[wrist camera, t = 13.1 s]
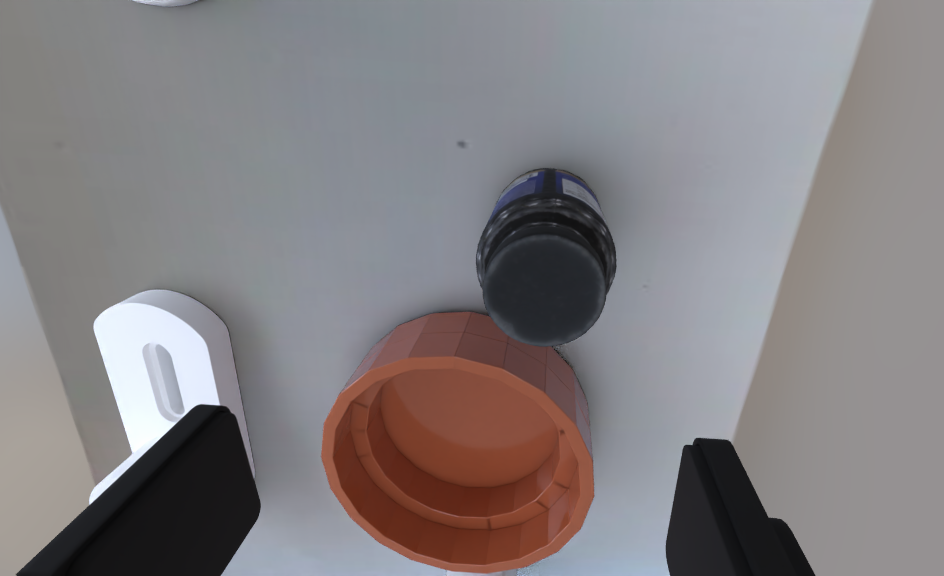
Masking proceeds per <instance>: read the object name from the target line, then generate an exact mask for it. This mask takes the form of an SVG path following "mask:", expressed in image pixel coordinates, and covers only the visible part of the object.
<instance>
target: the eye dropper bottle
mask: <svg viewBox="0 0 944 576" xmlns="http://www.w3.org/2000/svg"><path fill="white" fill-rule="evenodd" d="M446 576H517V569H512V570H507V571H501V572H495V573H488V574H483V573H467V572H452V571H448V570H447V571H446Z"/></svg>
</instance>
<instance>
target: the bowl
mask: <svg viewBox="0 0 944 576" xmlns="http://www.w3.org/2000/svg"><path fill="white" fill-rule="evenodd" d="M321 458H322V462H323V465H324V468H325V472H326V475H327V478H328V482H329V485H330V488H331V490H332V491H333V493H334V494H335V496H336V497H337V499H338V500H339V502H340V503H341V505H342V506H343V508H344V509H345V511H346V512H347V513H348V515H349V516H350V518H351V519H352V520H353V521H355V522H356V523H357V524H358V525H359V526H360V527H361V528H363V529H364V530H365V531H366V532H367V533H368V534H370V535H371V536H372V537H373V538H374V539H375V540H376V541H378V542H379V543H381V544H382V545H384V546H386V547H388V548H390V549H392V550H394V551H396V552H397V553H399V554H401V555H403V556H405V557H407V558H409V559H411V560H414V561H417V562H420V563H424V564H427V565H431V566H434V567H438V568H441V569H445V570H448V571H452V572H467V573H483V574H488V573H495V572H501V571H507V570H512V569H518V568H524V567H527V566H529V565H531V564H533V563H535V562H538V561H540V560H542V559H544V558H546V557H548V556H550V555H552V554H554V553H556V552H558V551H559V550H560V549H561V548H562V547H563V546H564V545H565V544H566V543H567V542H568V541H569V540H570V539H571V538H572V537H573V536H574V535H575V534H576V533H577V532H578V531H579V530H580V529H581V527H582V525H583V523H584V520H585V518H586V515H587V513H588V510H589V508H590V505H591V503H592V501H593V498H594V475H593V456H592V446H591V435H590V425H589V414H588V403H587V400H586V398H585V396H584V394H583V391H582V389H581V387H580V384H579V382H578V380H577V378H576V375H575V373H574V371H573V369H572V368H571V367H570V366H569V365H568V364H567V363H566V362H565V361H564V360H563V359H562V358H561V357H560V355H559V354H558V353H557V352H556V351H555V350H554V349H553V348H552V347H551V346H547V347H540V346H533V345H529V344H525V343H522V342H519V341H517V340H514V339H513V338H511V337H509V336H508V335H507V334H505V333H504V332H503V331H502V330H501V329H500V328H498V327H497V325H496V324H495V323H494V321H493V320H492V319H491V317H490V316H487V315H483V314H479V313H474V312H450V313H432V314H429V315H426V316H423V317H420V318H418V319H415V320H412V321H410V322H407V323H404V324H401V325H399V326H398V327H396V328H395V329H393V330H392V331H391V332H390V333H389V334H387V335H386V336H385V337H384V338H383V339H381V340H380V341H379V342H378V343H377V344H375V345H374V346H373V347H372V348H371V350H370V351H369V353H368V354H367V355H366V357H365V358H364V360H363V361H362V363H361V364H360V365H359V367H358V368H357V370H356V371H355V372H354V374H353V375H352V377H351V378H350V380H349V381H348V382H347V384H346V385H345V387H344V388H343V390H342V391H341V392H340V394H339V396H338V397H337V399H336V401H335V403H334V405H333V407H332V409H331V411H330V413H329V414H328V416H327V418H326V420H325V422H324V428H323V440H322V453H321Z"/></svg>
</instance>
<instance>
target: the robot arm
mask: <svg viewBox="0 0 944 576" xmlns="http://www.w3.org/2000/svg"><path fill="white" fill-rule="evenodd" d="M132 1H136V2H140V3H144V4H149V5H156V6H164V7H172V6H181V5H188V4H190V3H193V2H195V1H198V0H132ZM260 508H261V504H260V499H259V495H258V492H257V488H256V485H255V481H254V478H253V474H252V471H251V467H250V464H249V460H248V457H247V453H246V449H245V446H244V442H243V439H242V435H241V432H240V428H239V425H238V421H237V418H236V416H235V415H234V414H233V413H231V412H230V409H229V408H228V407H227V406H222V405H207V404H199V405H196V406H195V407H193V408H192V409H191V410H190V411H189V412H188V413H187V414H186V415H185V416H184V417H183V418H181V419H180V420H179V421H178V422H177V423H176V424H175V425H174V426H173V427H172V428H171V429H170V430H169V431H168V432H167V433H166V434H164V435H163V436H162V437H161V438H160V439H159V440H158V441H157V442H156V443H155V444H154V445H153V446H152V447H151V448H150V449H149V450H147V451H146V452H145V453H144V454H143V455H142V456H141V457H140V458H139V459H138V460H137V461H136V462H135V463H134V464H133V465H132V466H130V467H129V468H128V469H127V470H126V471H125V472H124V473H123V474H122V475H121V476H120V477H119V478H118V479H117V480H116V481H115V482H113V483H112V484H111V485H110V486H109V487H108V488H107V489H106V490H105V491H104V492H103V493H102V494H101V495H100V496H99V497H98V498H97V499H95V500H94V501H93V502H92V503H91V504H90V505H89V506H88V507H87V508H86V509H85V510H84V511H83V512H82V513H81V514H80V515H79V516H77V517H76V518H75V519H74V520H73V521H72V522H71V523H70V524H69V525H68V526H67V527H66V528H65V529H64V530H63V531H61V533H59V534H58V535H57V536H56V537H55V538H54V539H53V540H52V541H51V542H50V543H49V544H48V545H47V546H46V547H45V548H43V549H42V550H41V551H40V552H39V553H38V554H37V555H36V556H35V557H34V558H33V559H32V560H31V561H30V562H29V563H27V564H26V565H25V566H24V568H22V569H21V570H20V571H19V572H18V573H17V574H16V575H17V576H221V574H222V573H223V571H224V570H225V568H226V567H227V565H228V564H229V562H230V561H231V559H232V557H233V556H234V554H235V553H236V551H237V550H238V548H239V547H240V545H241V544H242V542H243V541H244V539H245V538H246V536H247V534H248V533H249V531H250V530H251V528H252V527H253V525H254V524H255V522H256V520H257V519H258V516H259V513H260ZM666 558H667V564H668V568H669V572H670V576H815V574H814V572H813V570H812V568H811V567H810V565H809V563H808V561H807V559H806V557H805V555H804V553H803V551H802V550H801V548H800V546H799V544H798V542H797V540H796V538H795V537H794V534H793V533H792V531H791V530H790V528H789V527H788V525H787V524H786V523H785V522H784V521H783V520H781V519H777V518H768V516H767V514H766V512H765V510H764V508H763V506H762V504H761V502H760V500H759V498H758V496H757V494H756V491H755V489H754V487H753V485H752V483H751V481H750V479H749V477H748V476H747V473H746V471H745V469H744V467H743V465H742V463H741V461H740V459H739V457H738V455H737V453H736V451H735V449H734V447H733V445H732V444H731V442H730V441H728V440H722V439H707V438H696V439H695V440H694V442H693V445H685V446H684V448H683V452H682V457H681V463H680V468H679V474H678V479H677V485H676V490H675V496H674V501H673V507H672V512H671V518H670V523H669V529H668V534H667V540H666Z"/></svg>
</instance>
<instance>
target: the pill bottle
mask: <svg viewBox="0 0 944 576" xmlns="http://www.w3.org/2000/svg"><path fill="white" fill-rule="evenodd" d="M476 266H477V274H478V279H479V282H480V286H481V287H482V289H483V299H484V304H485V307H486V309H487V312H488V314H489V315H490V317H491V319H492V320H493V321H494V323H495V324H496V325H497V327H498V328H500V329H501V330H502V331H503V332H504V333H505V334H507V335H508V336H509V337H511V338H513V339H514V340H517V341H519V342H522V343H525V344H529V345H533V346H540V347H547V346H556V345H562V344H565V343H568V342H570V341H573V340H575V339H577V338H578V337H580V336H582V335H583V334H585V333H586V332H587V331H588V330H589V329H590V328H591V327H592V326H593V325H594V324H595V322H596V321H597V320H598V318H599V317H600V314H601V313H602V310H603V307H604V305H605V301H606V295H607V293H608V291H609V289H610V287H611V285H612V281H613V279H614V277H615V272H616V251H615V246H614V242H613V239H612V236H611V234H610V231H609V229H608V226H607V224H606V221H605V219H604V216H603V213H602V211H601V208H600V206H599V203H598V201H597V198H596V196H595V194H594V193H593V192H592V190H591V189H590V188H589V186H588V185H587V184H586V183H585V182H584V181H583V180H582V179H581V178H580V177H578V176H576V175H574V174H572V173H569V172H567V171H564V170H557V169H548V168H543V169H537V170H533V171H530V172H527V173H525V174H523V175H521V176H519V177H518V178H516V179H515V180H514V181H513V182H512V183H511V184H510V185H509V186H507V188H506V189H505V190H504V191H503V192H502V194H501V196H500V197H499V199H498V201H497V203H496V206H495V208H494V210H493V213H492V215H491V217H490V219H489V221H488V223H487V225H486V227H485V229H484V231H483V233H482V236H481V238H480V241H479V244H478V249H477V254H476Z"/></svg>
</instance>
